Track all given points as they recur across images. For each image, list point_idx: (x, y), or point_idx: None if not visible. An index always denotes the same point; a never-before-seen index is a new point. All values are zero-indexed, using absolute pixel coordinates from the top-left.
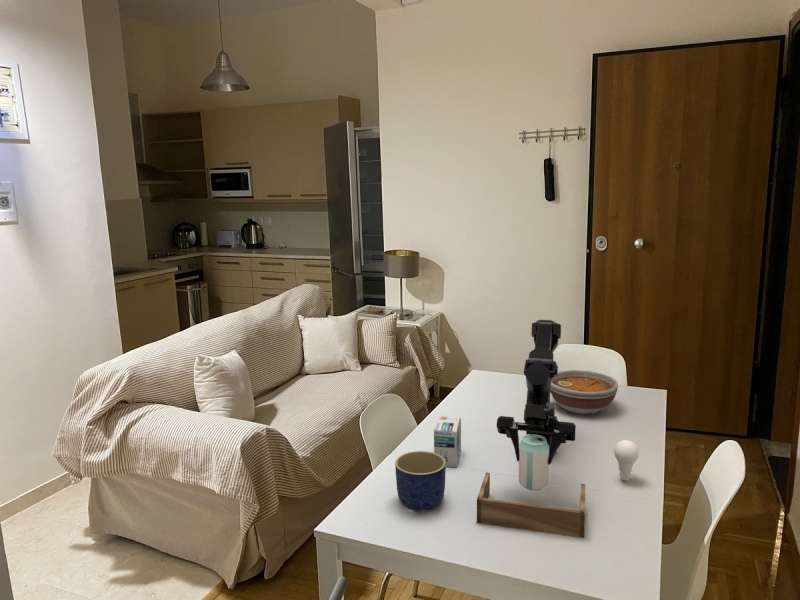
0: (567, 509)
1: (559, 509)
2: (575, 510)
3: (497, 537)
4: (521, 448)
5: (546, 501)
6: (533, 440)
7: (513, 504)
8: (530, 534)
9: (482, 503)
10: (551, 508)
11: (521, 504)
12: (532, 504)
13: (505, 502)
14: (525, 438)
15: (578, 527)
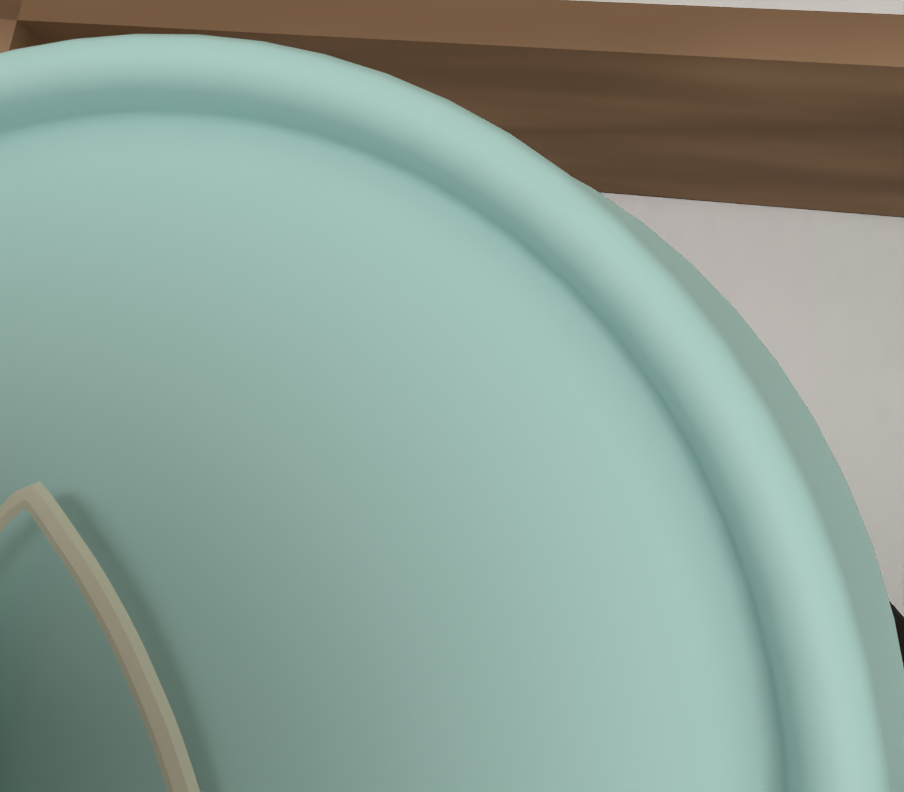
0: (139, 18)
1: (221, 4)
2: (63, 13)
3: (840, 6)
4: (791, 394)
5: None
6: (86, 562)
7: (747, 8)
8: None
9: None
10: (303, 2)
11: (646, 24)
12: (511, 42)
13: (856, 26)
14: None
15: None
